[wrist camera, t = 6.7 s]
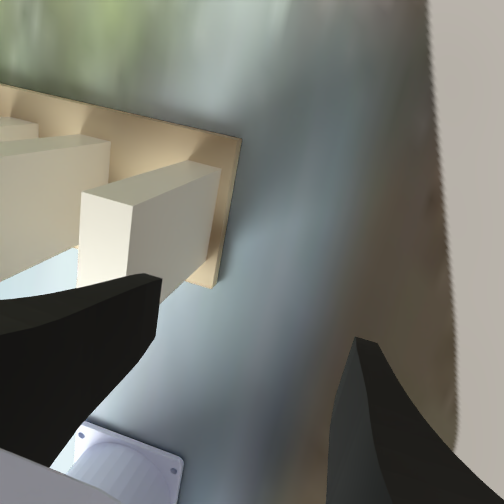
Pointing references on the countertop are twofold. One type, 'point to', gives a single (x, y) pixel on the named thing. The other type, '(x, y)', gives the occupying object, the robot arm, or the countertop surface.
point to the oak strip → (137, 150)
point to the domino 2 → (148, 225)
